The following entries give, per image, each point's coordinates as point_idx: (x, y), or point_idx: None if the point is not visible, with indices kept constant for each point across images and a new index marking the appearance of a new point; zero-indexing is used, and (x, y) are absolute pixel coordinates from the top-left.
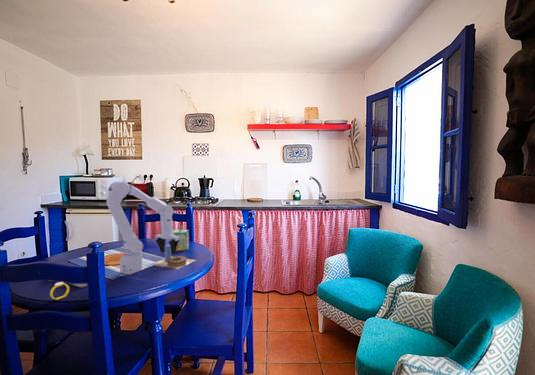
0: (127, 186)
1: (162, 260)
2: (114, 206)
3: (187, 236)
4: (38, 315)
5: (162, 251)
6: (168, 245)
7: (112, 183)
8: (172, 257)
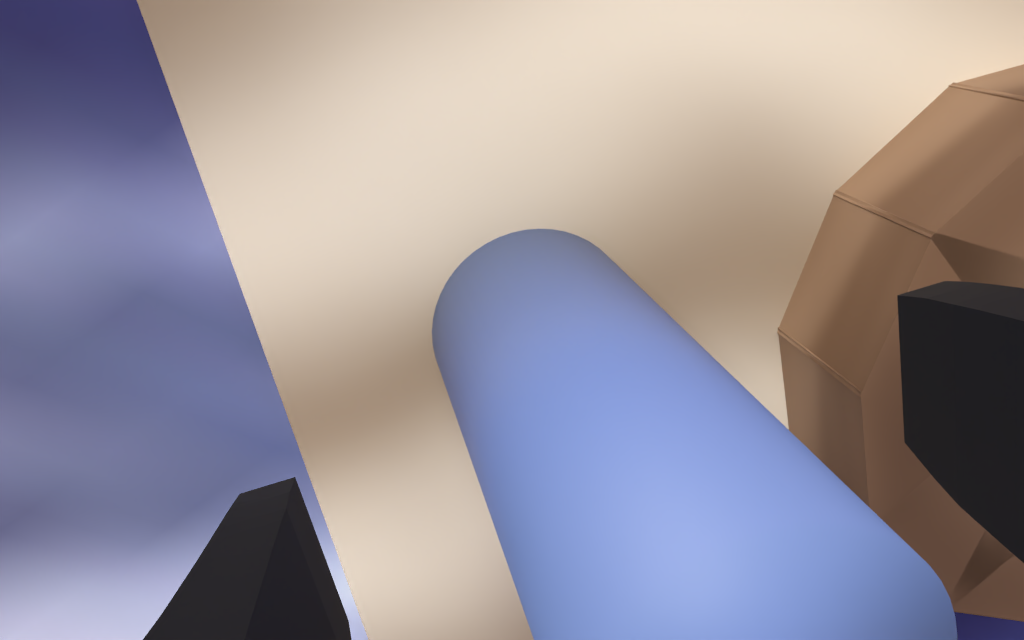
0: None
1: (369, 446)
2: None
3: None
4: None
5: (337, 606)
6: (759, 637)
7: None
8: (877, 380)
